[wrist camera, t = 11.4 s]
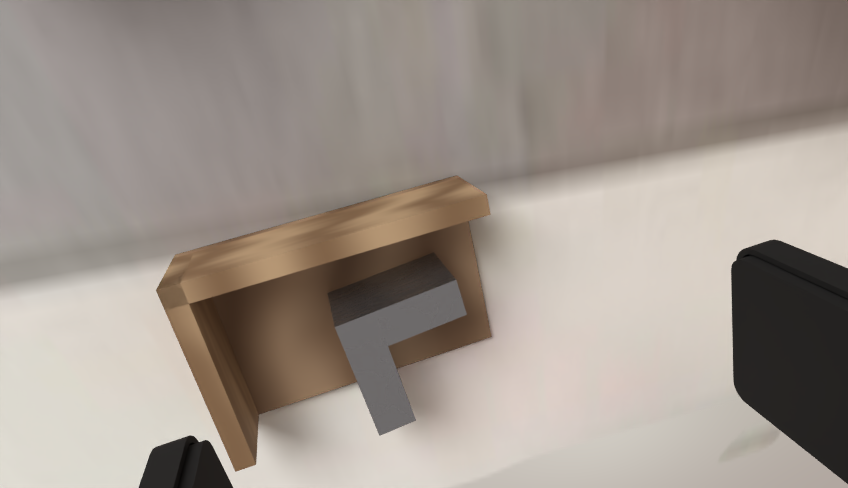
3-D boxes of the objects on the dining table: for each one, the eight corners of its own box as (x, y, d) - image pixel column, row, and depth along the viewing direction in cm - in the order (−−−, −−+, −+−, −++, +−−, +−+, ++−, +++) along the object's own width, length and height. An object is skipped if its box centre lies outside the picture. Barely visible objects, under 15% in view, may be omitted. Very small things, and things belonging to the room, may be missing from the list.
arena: (456, 175, 36) (486, 194, 31) (488, 333, 40) (519, 372, 35) (175, 254, 33) (156, 290, 28) (241, 415, 37) (235, 471, 32)
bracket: (327, 292, 36) (334, 327, 31) (433, 252, 37) (456, 279, 32) (367, 391, 39) (379, 435, 34) (465, 351, 40) (489, 389, 35)
